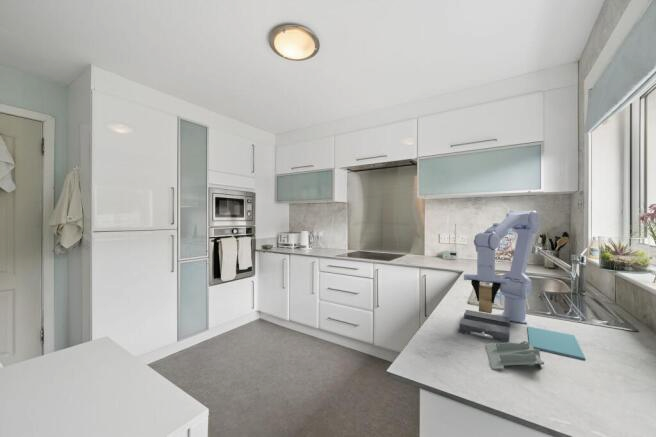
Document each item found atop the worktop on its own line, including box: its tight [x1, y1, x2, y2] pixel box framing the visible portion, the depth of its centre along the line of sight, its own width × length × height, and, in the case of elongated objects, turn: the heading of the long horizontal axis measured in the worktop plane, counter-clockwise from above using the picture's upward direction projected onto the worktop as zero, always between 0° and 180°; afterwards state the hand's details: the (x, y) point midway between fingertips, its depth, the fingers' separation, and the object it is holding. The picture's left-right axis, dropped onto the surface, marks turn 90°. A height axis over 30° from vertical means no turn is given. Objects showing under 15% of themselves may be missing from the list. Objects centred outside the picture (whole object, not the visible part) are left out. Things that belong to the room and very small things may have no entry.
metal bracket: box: [484, 340, 545, 371], centre depth 79 cm, size 14×6×15 cm
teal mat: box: [527, 326, 586, 361], centre depth 90 cm, size 18×13×1 cm
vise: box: [458, 309, 511, 343], centre depth 101 cm, size 22×15×3 cm
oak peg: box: [478, 284, 493, 314], centre depth 101 cm, size 4×4×9 cm
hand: (485, 301), depth 101 cm, fingers closed on oak peg, 4 cm apart
